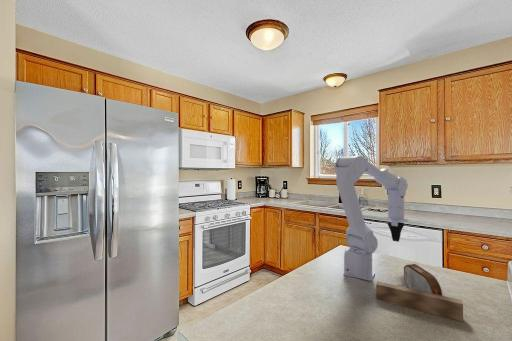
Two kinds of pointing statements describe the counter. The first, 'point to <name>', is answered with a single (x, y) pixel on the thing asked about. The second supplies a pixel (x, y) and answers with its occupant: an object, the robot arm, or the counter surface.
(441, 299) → the walnut board
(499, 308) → the counter surface
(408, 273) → the tin
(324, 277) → the counter surface
